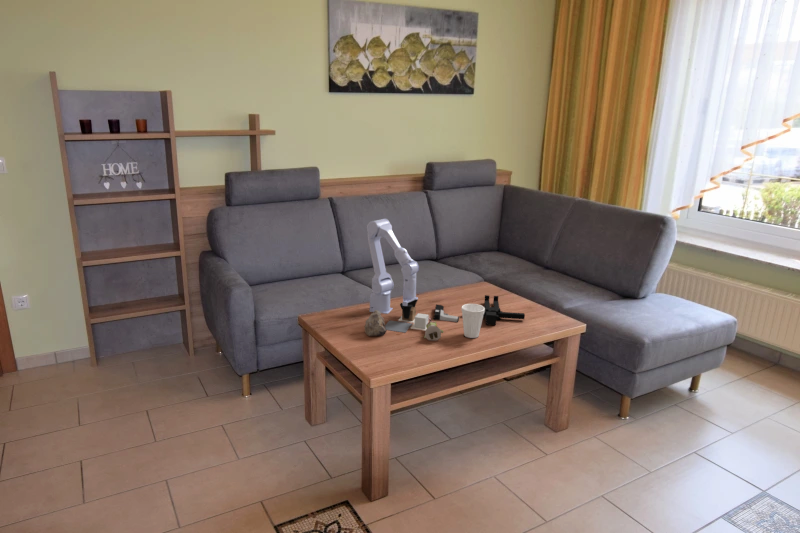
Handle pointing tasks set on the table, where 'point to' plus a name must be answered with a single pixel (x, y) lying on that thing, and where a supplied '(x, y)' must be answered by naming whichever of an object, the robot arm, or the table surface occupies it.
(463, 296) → the table surface
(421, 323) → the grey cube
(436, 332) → the figurine
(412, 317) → the walnut cube
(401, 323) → the slate mat
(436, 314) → the toy gun
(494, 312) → the toy
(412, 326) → the code tile
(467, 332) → the cup
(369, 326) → the rock
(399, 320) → the code tile
